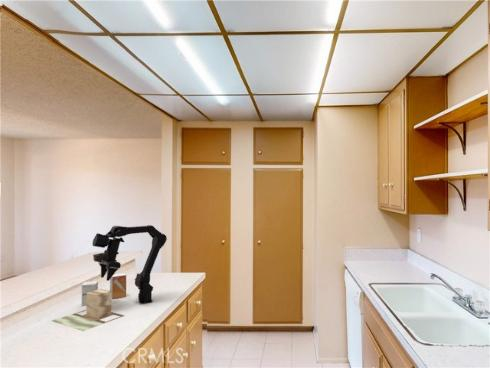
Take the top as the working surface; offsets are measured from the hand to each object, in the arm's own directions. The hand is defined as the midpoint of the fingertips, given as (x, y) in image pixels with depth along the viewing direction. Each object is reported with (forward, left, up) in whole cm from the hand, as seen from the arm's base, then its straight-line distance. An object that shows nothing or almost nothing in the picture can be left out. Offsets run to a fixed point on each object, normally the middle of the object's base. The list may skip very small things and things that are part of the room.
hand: (104, 279), depth 180 cm
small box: (-10, -22, -16) cm, 29 cm away
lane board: (+9, +13, -16) cm, 23 cm away
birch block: (+4, +11, -15) cm, 18 cm away
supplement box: (+6, -12, -16) cm, 21 cm away
